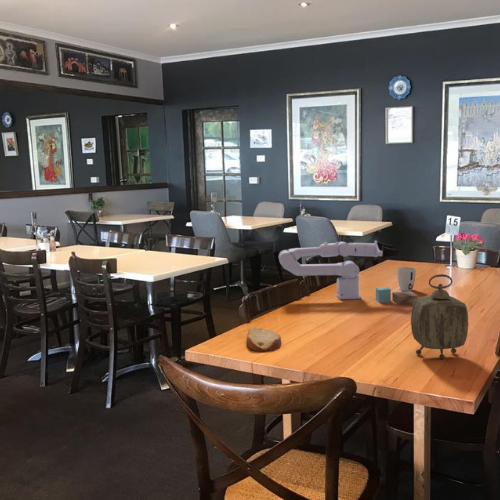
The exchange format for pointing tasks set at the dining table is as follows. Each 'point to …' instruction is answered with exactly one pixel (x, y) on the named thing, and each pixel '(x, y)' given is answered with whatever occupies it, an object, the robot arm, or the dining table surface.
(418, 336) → the tabletop clock
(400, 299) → the brown block
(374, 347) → the dining table surface
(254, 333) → the slice of bread
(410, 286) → the cup
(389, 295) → the teal block
